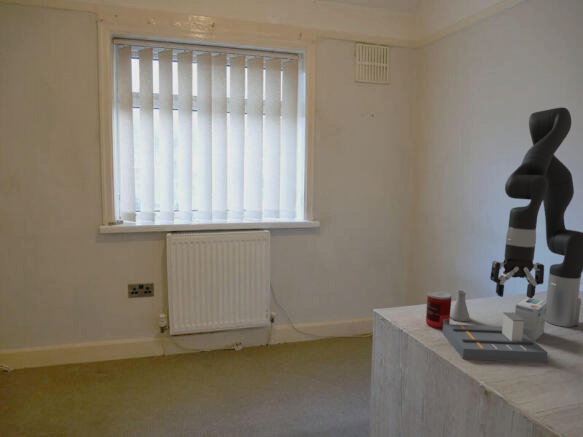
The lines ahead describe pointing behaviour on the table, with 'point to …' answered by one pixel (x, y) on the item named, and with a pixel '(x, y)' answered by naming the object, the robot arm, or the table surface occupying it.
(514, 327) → the tall grey rectangular block
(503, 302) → the table surface
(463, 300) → the flask
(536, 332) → the light bulb box
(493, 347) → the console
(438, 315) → the canned food
